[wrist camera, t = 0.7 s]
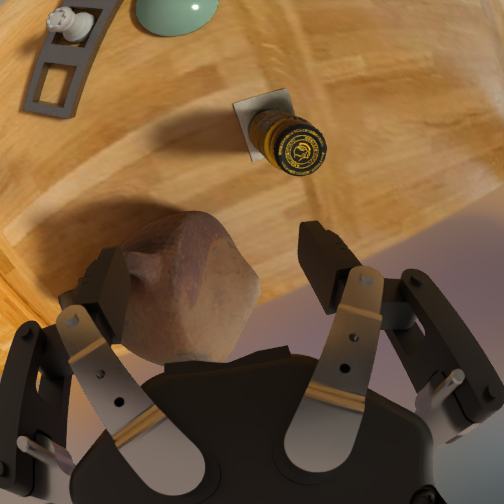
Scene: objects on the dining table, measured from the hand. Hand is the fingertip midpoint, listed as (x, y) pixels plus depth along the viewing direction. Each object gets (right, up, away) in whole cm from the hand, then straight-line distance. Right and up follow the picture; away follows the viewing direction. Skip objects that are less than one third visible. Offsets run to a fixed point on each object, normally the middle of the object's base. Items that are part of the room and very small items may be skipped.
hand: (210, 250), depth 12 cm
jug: (-14, -1, +29) cm, 32 cm away
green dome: (-7, +30, +9) cm, 32 cm away
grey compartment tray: (-20, +28, +8) cm, 35 cm away
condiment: (+4, +17, +21) cm, 27 cm away
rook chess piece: (-20, +28, +8) cm, 35 cm away
